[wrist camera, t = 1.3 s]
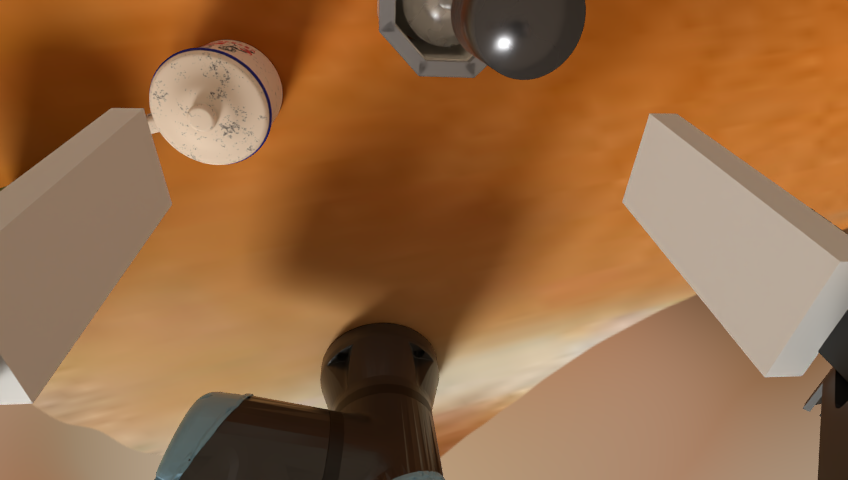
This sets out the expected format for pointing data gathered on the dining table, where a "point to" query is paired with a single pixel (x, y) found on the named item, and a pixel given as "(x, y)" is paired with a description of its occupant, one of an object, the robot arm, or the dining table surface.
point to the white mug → (423, 46)
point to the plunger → (502, 31)
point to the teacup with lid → (215, 101)
